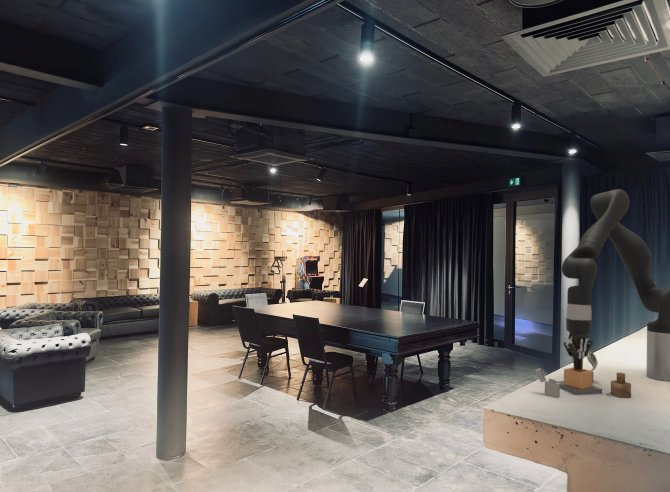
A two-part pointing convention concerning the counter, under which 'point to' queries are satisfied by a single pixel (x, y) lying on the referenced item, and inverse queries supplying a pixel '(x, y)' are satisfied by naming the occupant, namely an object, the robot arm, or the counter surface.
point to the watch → (590, 360)
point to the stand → (621, 387)
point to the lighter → (549, 385)
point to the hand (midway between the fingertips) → (578, 369)
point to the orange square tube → (578, 378)
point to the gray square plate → (580, 391)
